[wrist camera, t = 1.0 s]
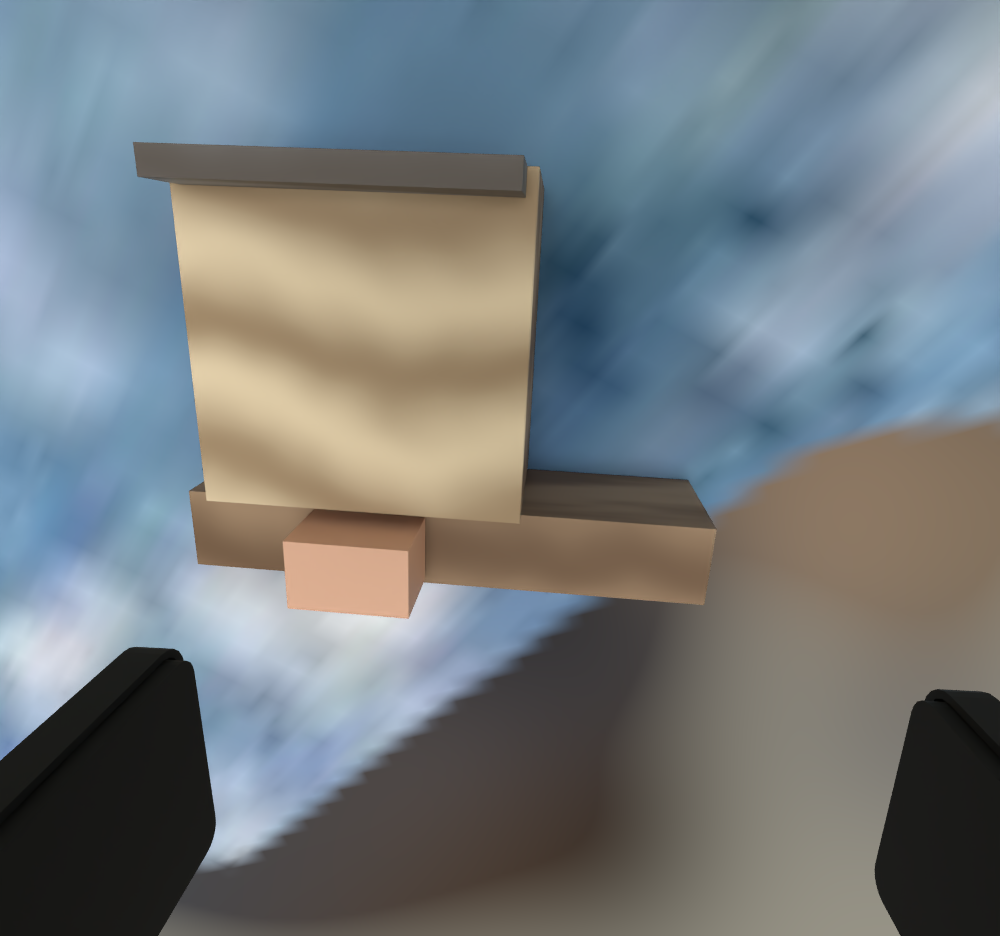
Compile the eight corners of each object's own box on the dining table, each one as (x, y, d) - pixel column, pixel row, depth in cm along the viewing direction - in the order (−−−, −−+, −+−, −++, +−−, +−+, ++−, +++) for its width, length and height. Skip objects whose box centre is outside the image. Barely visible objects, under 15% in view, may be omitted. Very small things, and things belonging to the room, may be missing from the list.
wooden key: (313, 509, 34) (282, 541, 30) (425, 517, 33) (408, 551, 29) (317, 569, 35) (287, 608, 31) (424, 578, 34) (408, 618, 30)
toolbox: (228, 177, 36) (140, 156, 28) (729, 196, 34) (778, 179, 26) (257, 512, 43) (193, 568, 35) (678, 544, 41) (706, 609, 33)
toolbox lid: (179, 156, 28) (120, 141, 24) (540, 169, 27) (537, 155, 23) (216, 493, 33) (172, 524, 29) (520, 515, 32) (515, 550, 28)
